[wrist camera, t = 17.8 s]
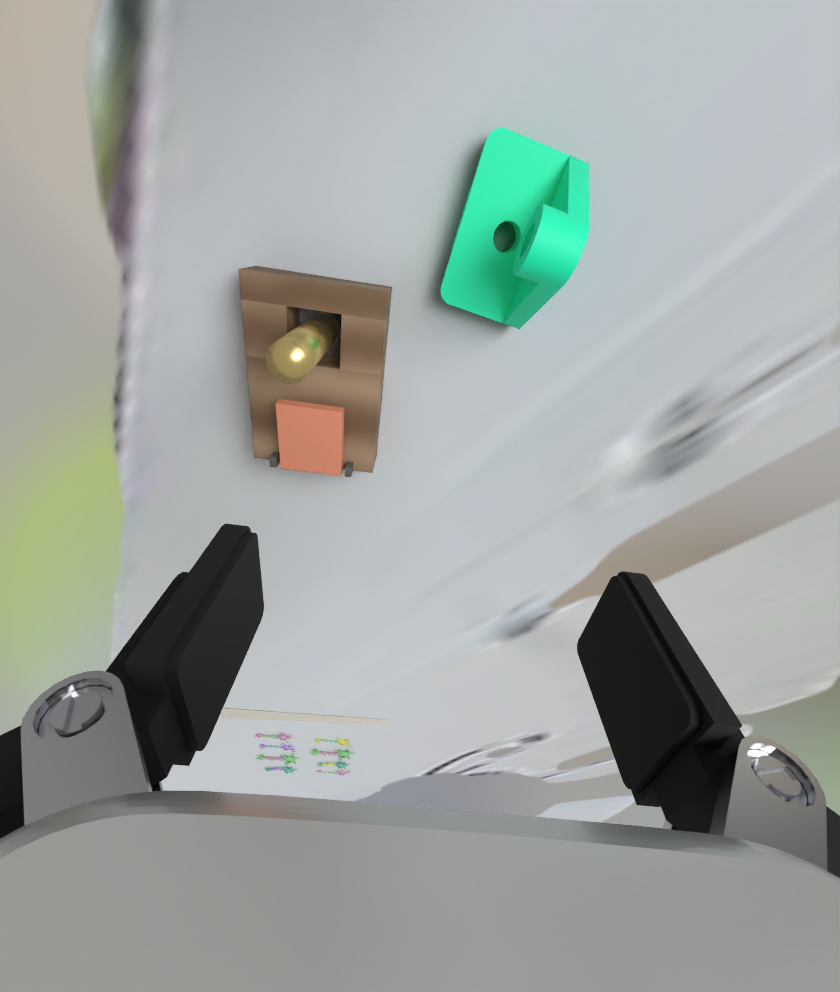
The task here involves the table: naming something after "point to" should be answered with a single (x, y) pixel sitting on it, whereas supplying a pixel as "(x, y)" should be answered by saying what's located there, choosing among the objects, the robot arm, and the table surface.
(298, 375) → the brass pin
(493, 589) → the table surface
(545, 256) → the camera mount
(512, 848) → the robot arm
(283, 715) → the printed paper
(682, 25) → the table surface
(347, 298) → the hitch block
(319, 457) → the orange flat plate
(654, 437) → the table surface
